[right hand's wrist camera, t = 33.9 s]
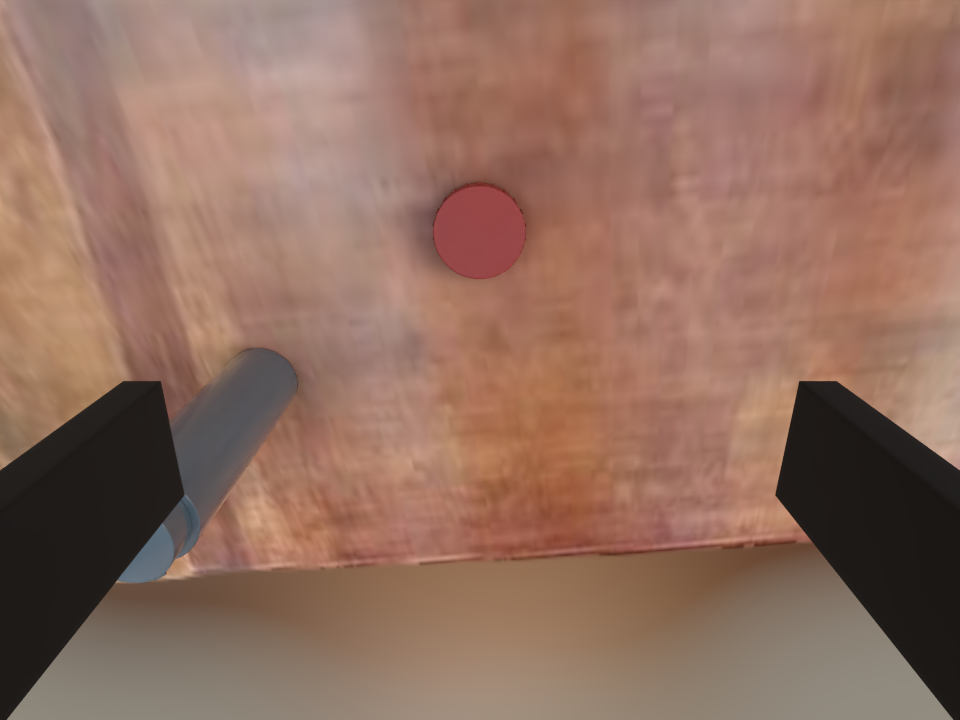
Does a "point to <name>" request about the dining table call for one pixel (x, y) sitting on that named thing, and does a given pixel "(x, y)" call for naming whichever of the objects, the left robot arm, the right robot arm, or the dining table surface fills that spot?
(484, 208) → the lid
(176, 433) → the bottle
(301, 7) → the dining table surface
